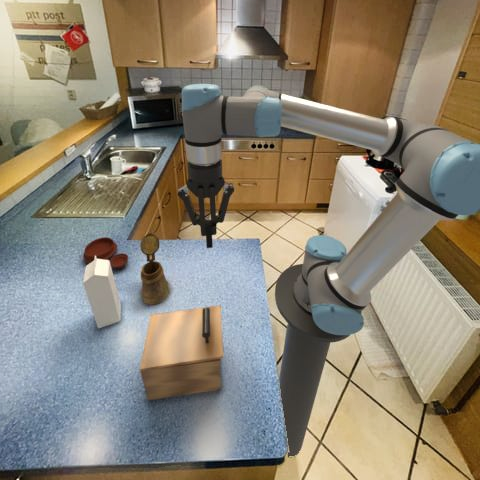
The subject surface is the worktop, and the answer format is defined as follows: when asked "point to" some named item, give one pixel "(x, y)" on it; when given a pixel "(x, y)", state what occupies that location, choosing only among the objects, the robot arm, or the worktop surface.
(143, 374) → the chest
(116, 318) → the milk
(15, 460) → the worktop surface
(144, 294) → the wooden mug
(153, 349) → the chest lid
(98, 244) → the pottery
